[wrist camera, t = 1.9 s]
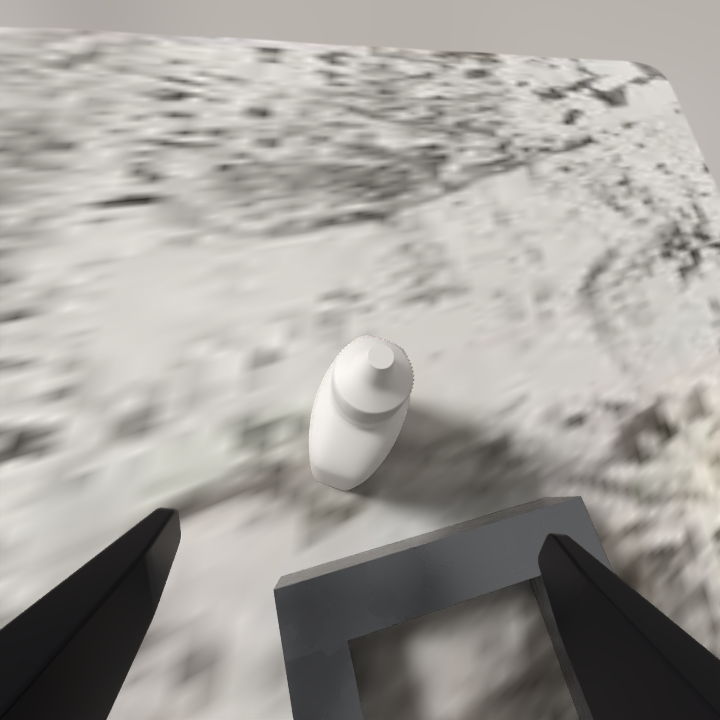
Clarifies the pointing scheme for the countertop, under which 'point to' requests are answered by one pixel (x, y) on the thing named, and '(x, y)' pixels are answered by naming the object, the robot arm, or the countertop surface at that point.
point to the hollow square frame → (415, 595)
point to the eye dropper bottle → (359, 411)
